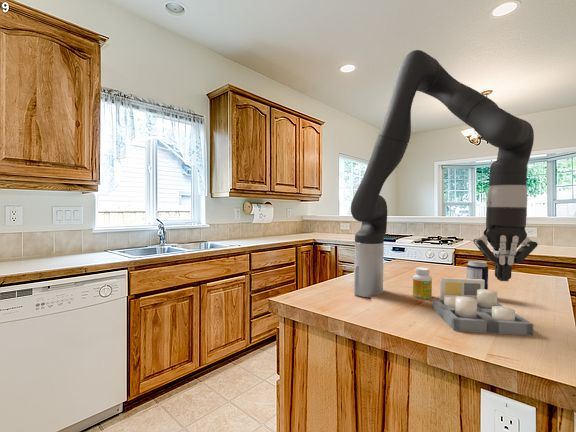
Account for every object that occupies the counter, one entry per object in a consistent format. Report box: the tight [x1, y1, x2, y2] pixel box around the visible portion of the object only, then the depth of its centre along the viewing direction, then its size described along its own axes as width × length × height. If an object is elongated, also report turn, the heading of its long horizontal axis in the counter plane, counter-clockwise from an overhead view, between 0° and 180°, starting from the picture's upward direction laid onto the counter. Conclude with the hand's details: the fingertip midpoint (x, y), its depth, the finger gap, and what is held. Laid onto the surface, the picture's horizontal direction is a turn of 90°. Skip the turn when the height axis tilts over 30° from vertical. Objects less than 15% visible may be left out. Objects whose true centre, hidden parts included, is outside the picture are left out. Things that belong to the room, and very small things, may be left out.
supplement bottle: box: [412, 267, 433, 300], centre depth 96 cm, size 5×5×10 cm
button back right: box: [477, 289, 498, 309], centre depth 79 cm, size 4×4×4 cm
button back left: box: [444, 295, 457, 307], centre depth 80 cm, size 4×4×4 cm
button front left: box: [455, 296, 477, 319], centre depth 72 cm, size 4×4×4 cm
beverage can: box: [466, 259, 489, 290], centre depth 96 cm, size 6×6×12 cm
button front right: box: [492, 305, 516, 321], centre depth 71 cm, size 4×4×4 cm
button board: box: [432, 277, 534, 336], centre depth 76 cm, size 16×18×9 cm
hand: (502, 280), depth 71 cm, fingers closed
